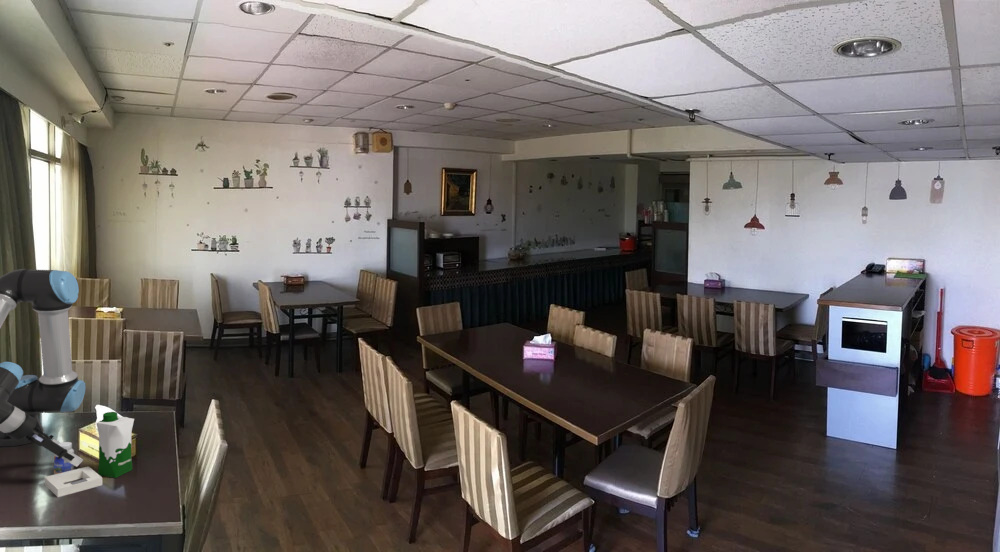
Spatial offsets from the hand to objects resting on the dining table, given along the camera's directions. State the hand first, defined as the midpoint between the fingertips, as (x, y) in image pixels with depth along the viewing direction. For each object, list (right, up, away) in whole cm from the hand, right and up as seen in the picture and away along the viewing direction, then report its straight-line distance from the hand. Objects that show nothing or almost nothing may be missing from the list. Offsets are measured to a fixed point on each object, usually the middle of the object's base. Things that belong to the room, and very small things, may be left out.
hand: (73, 457), depth 202 cm
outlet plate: (+7, -6, -10) cm, 13 cm away
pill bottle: (-2, -5, -2) cm, 5 cm away
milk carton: (+14, -6, +1) cm, 15 cm away
